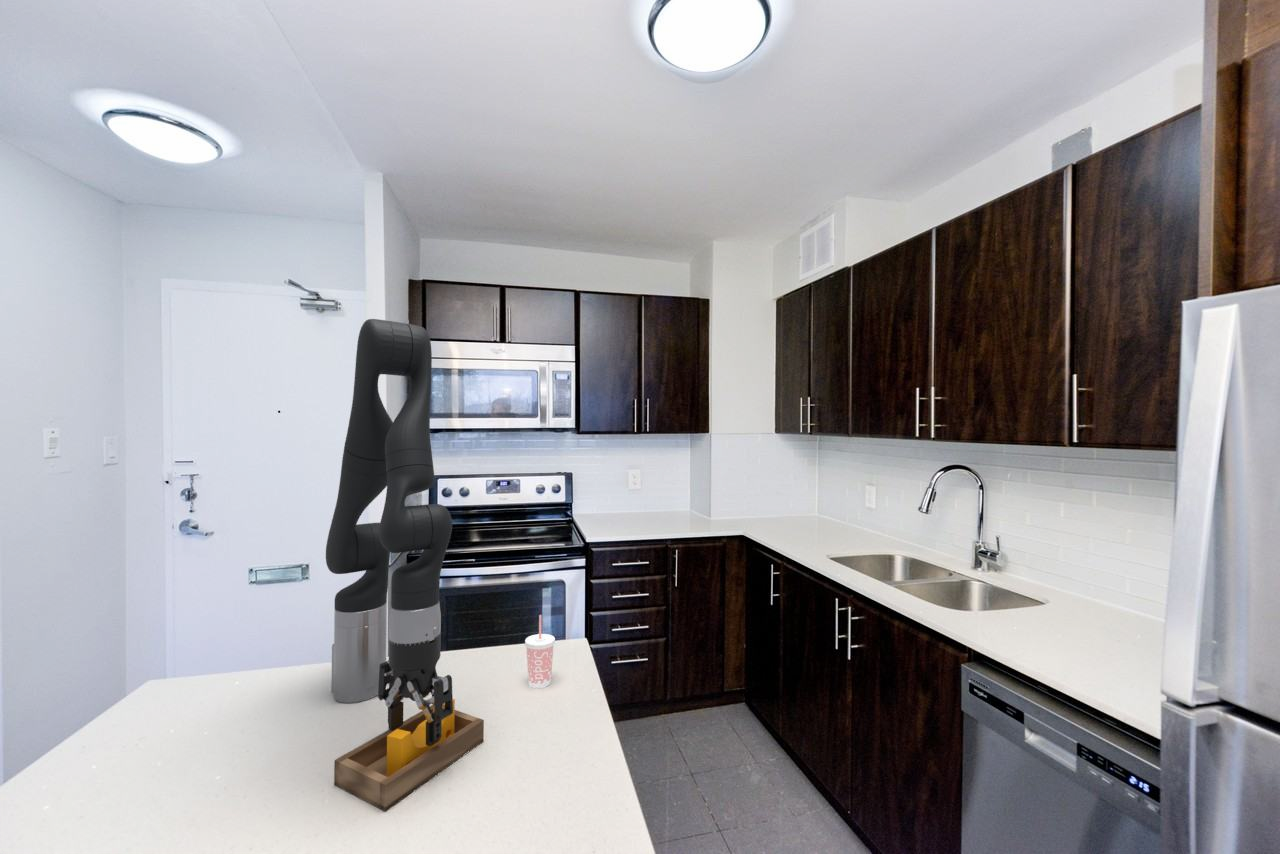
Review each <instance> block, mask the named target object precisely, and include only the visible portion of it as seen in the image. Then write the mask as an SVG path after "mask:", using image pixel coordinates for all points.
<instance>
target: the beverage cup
mask: <svg viewBox="0 0 1280 854" xmlns="http://www.w3.org/2000/svg"><path fill="white" fill-rule="evenodd" d="M538 616H539V617H538V633H537V634H532V635H529V636H527V637H526V638H525V640H524V643H525V646H526V647H525V648H526V660H527V661H526V665H527V682H528V686H529V687H530V688H532V689H533V688H534V689H542V688H543V689H544V688H546V687H548V685H549V686H550V685H551V683H552V669H553V657H554V645H555V644H556V643H555V642H556V638H555V636H554V635H552V634H549V633H542V614H539V615H538Z"/></svg>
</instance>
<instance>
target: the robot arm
mask: <svg viewBox="0 0 1280 854" xmlns="http://www.w3.org/2000/svg"><path fill="white" fill-rule="evenodd" d="M432 352H433V351H432V343H431V339H430V335H429V333H428V331H427V330H426V329H425V327H422V326H421V325H417V324H413V323H411V324H410V323H404V322H398V321H392V320H385V319H377V318H369V319H366V320H365V321H364V322H363V323H362V325H361V327H360V330H359V334H358V338H357V345H356V354H355V365H354V366H355V369H354V383H353V393H352V402H351V410H350V415H349V421H348V427H347V431H346V437H345V442H344V446H343V447H344V448H343V451H342V452H343V453H342V460H341V469H340V480H339V484H338V485H339V486H338V492H337V499H336V503H335V508H334V511H333V516H332V519H331V524H330V527H329V531H328V535H327V540H326V547H325V564H326V566H327V569H328V570H329V571H330V572H331V573H332V574H333V575H334V574H335V575H345V574H346V575H347V574H351V573H352V574H353V573H358V572H364V571H365V572H364V573H363V574H362V576H361V577H360V578H359V579H357V580H356V581H355V582H353V583H351V584H349V585H347V586H346V587H344V588H342V589H340V590H339V591H338V592H336V594H335V596H334V619H333V620H334V627H333V628H334V629H333V630H334V633H333V635H334V636H333V641H334V642H333V644H332V645H331V682H330V684H331V687H330V688H331V689H330V690H331V691H330V692H331V693H332V695H333V699H334V700H335V701H337V702H339V703H346V704H347V703H358V702H363V701H367V700H369V699H372V698H374V697H378V700H380V701H383V700H384V701H385V702H384V703H385V707H387V725H388V730H392V731H394V730H396V729H397V728H399V727H401V726H402V725H403V721H404V701H403V700H404V699H410V700H411V701H413V702H415V704H416V707H417V708H418V710H419V711H423V712H424V715H425V717H426V719H427V722H426V745H428V746H432V745H434V744H435V743H437V742H438V741H439V740H440V738H441V736H442V732H441V731H442V719H444V718H446V717H447V716H449V715H451V714H452V713H453V699H454V698H453V678H452V676H451V674H447V675H445V676H440V675H438V673H437V668H436V667H437V664H438V662H439V660H440V659H441V647H442V646H441V641H442V640H441V639H442V638H441V637H442V636H441V634H442V633H441V632H442V630H441V629H442V628H441V627H442V626H441V624H442V613H441V605H440V585H441V584H440V582H441V581H440V580H441V571H442V568H443V567H442V566H443V563H444V560H445V556H446V552H447V549H448V546H449V542H450V539H451V537H452V531H453V518H452V515H451V513H450V511H449V509H448V508H447V507H445V505H443V504H438V503H431V504H429V503H428V504H420V505H418V504H417V505H407V506H406V499H407V497H409V496H411V495H414V494H415V495H416V494H419V493H421V492H424V491H427V490H430V489H431V488H432V487H433V486H434V483H435V470H434V461H433V460H434V459H433V452H432V444H431V443H432V442H431V427H430V426H431V425H430V424H431V423H430V422H431V421H430V420H431V402H432V401H431V400H432V399H431V397H432V368H433V367H432V366H433V365H432V364H433V363H432V362H433V361H432V360H433V359H432V358H433V356H432V354H433V353H432ZM381 375H388V376H390V375H391V376H399V377H408V380H409V386H408V387H409V389H408V394H407V397H406V399H405V401H404V403H403V406H401V409H400V411H399V412H398V414H397V415H396V416H395V418H394V420H392V419H391V417H390V415H389V413H388V411H387V410H386V407H385V406H384V403H383V401H382V399H381V398H382V397H381V396H380V392H379V378H380V376H381ZM385 489H386V493H385V500H384V501H385V502H384V506H383V511H382V515H381V519H380V522H369V523H359V524H358V522H359V519H360V517H361V516H362V515H363V512H364V511H365V510H366V509H367V508H368V507H369V505H370V504H371V503H372V502H373V501H374V500H375V499H376V498H377V497H378V496H379V495H380V494H381V493H382V492H383V491H384V490H385ZM422 550H423V551H422ZM415 551H422V552H421V554H420V555H419V556H418V558H417V559H415V560H414V561H412V562H409V563H406V564H404V565H402V566H399V567H398V568H396V569H395V570H393V572H392V574H391V589H390V590H391V592H390V596H391V597H390V613H389V621H388V623H387V620H388V619H387V618H388V615H387V614H388V613H387V612H388V589H389V572H390V559H391V558H390V557H391V554H401V553H408V552H415ZM387 625H388V634H387ZM387 635H388V660H387ZM387 685H388V688H387ZM430 694H431V697H430V698H428V699H425V698H427V697H428V696H429V695H430ZM444 703H445V708H443V704H444ZM431 705H433V706H434V709H435V711H434V712H432V710H431V708H430V706H431Z"/></svg>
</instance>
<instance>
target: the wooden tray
mask: <svg viewBox="0 0 1280 854" xmlns="http://www.w3.org/2000/svg"><path fill="white" fill-rule="evenodd" d="M430 708H431V710H432V712H433V709H434V706H433V704H431V705H430ZM425 720H426V717H425V715H424V712H423V710H420V711H419V712H417V713H416V714H414V715H412V716H410V717H409V718H407V719H405V720H403V725H402V726H401V727H399V728H397V729H400V730H405V731H409V732H411V735H412V733H413V732H414V731H415V730H416V728H417V727H418V725H419V724H421V723H422V722H423V721H425ZM484 721H485V720H484V719H483V718H480V717H477V716H474V715H471V714H468V713H465V712H462V711H460V710H456V709H455V719H454V734H453V735H452V736H450V737H449V738H447V739H446V740H444V741H442V742H441V743H439V744H438V745H436V746H435V747H433V748H432V749H430V750H429V751H427V752H426V753H424V754H423V755H421V756H419V757H418V758H416V759H415V760H413V761H412V762H410V763H409V764H407V765H406V766H404V767H403V768H401V769H400V770H398V771H397V772H395V773H393V774H392V775H390V776H389V777H387V735H389V734H390V733H392V732H393V731H392V730H389V729H388V730H386V731H383V732H382V733H380V734H378V735H377V736H375V737H373V738H372V739H369V740H368V741H366V742H364V743H362V744H361V745H359V746H358V747H355V748H354V749H352V750H350V751H348V752H347V753H345V754H343V755H341V756H339V757H337V758H336V759H334V760H333V761H334V766H333V767H334V768H333V769H334V771H333V772H334V773H333V779H334V780H333V781H334V782H333V785H334V786H335V787H338V788H339V789H341V790H343V791H345V792H347V793H349V794H351V795H353V796H355V797H357V798H359V799H360V800H362V801H364V802H366V803H368V804H370V805H371V806H374V807H376V808H378V809H380V810H382V811H383V812H387V811H389V810H390V809H391V808H393V807H394V806H395V805H397V804H399V803H400V802H402V800H403V799H405V798H406V797H408V796H409V795H411V794H412V793H413V792H415V791H416V790H418V789H419V788H420V787H422V786H423V785H425V784H426V783H428V782H429V781H430V780H431V779H434V777H436V776H437V775H439V774H440V773H441V772H443V771H444V770H445V768H446V767H447V768H449V767H450V766H451V765H453V764H454V763H455V762H457V761H458V760H460V759H461V758H463V757H464V756H465V755H466V754H465V753H467V752H468V751H469V752H471V751H472V750H473V749H472V748H474V747H475V748H476V747H478V746H480V745H481V744H482V743H483V742H484V741H485V740H484V738H485V737H484V734H485V733H484V729H485V727H484V726H485V724H484V723H485V722H484ZM394 731H395V730H394ZM481 742H482V743H481ZM480 743H481V744H480ZM477 745H478V746H477ZM475 748H474V749H475ZM471 749H472V750H471ZM470 750H471V751H470ZM469 752H468V753H469ZM468 753H467V754H468ZM464 754H465V755H464ZM463 755H464V756H463ZM460 757H461V758H460ZM459 758H460V759H459ZM457 759H458V760H457ZM456 760H457V761H456ZM453 762H454V763H453ZM452 763H453V764H452ZM450 764H451V765H450ZM449 765H450V766H449ZM447 768H446V769H447ZM442 770H443V771H442ZM439 772H440V773H439ZM438 773H439V774H438ZM435 775H436V776H435ZM417 788H418V789H417ZM414 790H415V791H414Z"/></svg>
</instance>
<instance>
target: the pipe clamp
mask: <svg viewBox="0 0 1280 854" xmlns="http://www.w3.org/2000/svg"><path fill="white" fill-rule="evenodd" d="M455 702H456V699H454V698H453V713H452V714H451V715H449V716H447V717H446V718H444V719H442V731H441V732H442V736H441V738H440V740H439V741H438V742H437V743H435V744H434V745H432V746H428V745H426V722H427V719H426V720H425V721H423V722H422V723H421V724H419V725H418V727H417V728H416V730H415V731H414V732H413V733H412V735H411V732H409V731H405V730H400V729H396V730H395V731H393V732H392V733H390V734H389V735H387V777H389V776H390V775H392V774H393V773H395V772H397V771H398V770H400V769H401V768H403V767H404V766H406V765H407V764H409V763H410V762H412V761H413V760H415V759H416V758H418V757H419V756H421V755H423V754H424V753H426V752H427V751H429V750H430V749H432V748H433V747H435V746H436V745H438V744H439V743H441V742H442V741H444V740H446V739H447V738H449V737H450V736H452V735H453V734H454V719H455V710H456V709H455V705H456V704H455ZM443 708H445V703H444V704H443ZM434 711H435V709H433V712H434Z"/></svg>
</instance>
